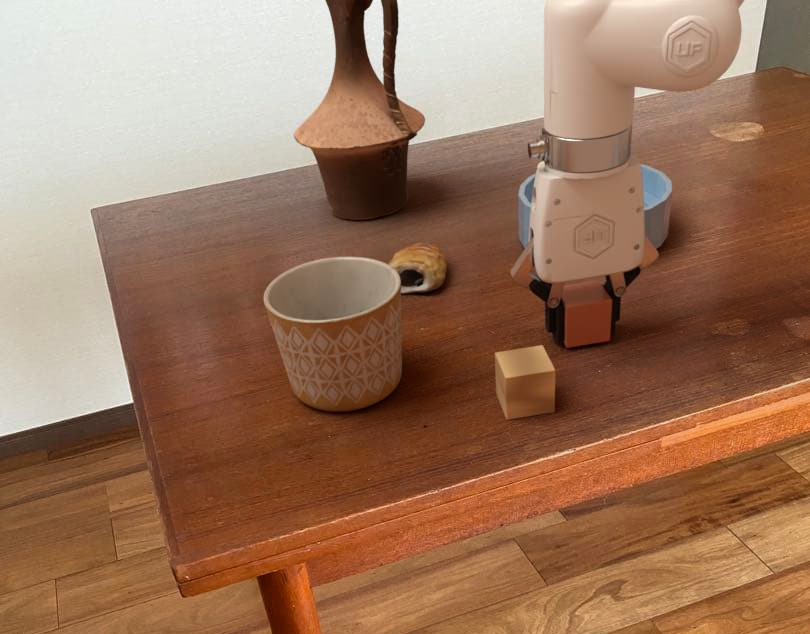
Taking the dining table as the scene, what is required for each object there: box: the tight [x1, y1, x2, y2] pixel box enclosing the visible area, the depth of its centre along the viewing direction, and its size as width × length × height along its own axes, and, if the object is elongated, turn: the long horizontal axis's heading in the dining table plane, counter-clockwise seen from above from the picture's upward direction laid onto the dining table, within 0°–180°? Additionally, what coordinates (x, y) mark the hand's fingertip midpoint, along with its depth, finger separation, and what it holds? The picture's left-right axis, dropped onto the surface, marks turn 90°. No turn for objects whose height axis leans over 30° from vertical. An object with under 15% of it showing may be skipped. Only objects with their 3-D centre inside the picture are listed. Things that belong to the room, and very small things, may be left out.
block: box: [494, 344, 556, 421], centre depth 81 cm, size 4×4×4 cm
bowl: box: [517, 163, 674, 250], centre depth 105 cm, size 17×17×6 cm
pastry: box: [387, 242, 448, 295], centre depth 102 cm, size 9×7×4 cm
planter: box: [263, 256, 403, 413], centre depth 84 cm, size 13×13×10 cm
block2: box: [561, 279, 612, 349], centre depth 88 cm, size 4×4×4 cm
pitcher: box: [293, 0, 426, 221], centre depth 111 cm, size 18×17×28 cm
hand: (581, 330), depth 90 cm, fingers closed on block2, 4 cm apart
